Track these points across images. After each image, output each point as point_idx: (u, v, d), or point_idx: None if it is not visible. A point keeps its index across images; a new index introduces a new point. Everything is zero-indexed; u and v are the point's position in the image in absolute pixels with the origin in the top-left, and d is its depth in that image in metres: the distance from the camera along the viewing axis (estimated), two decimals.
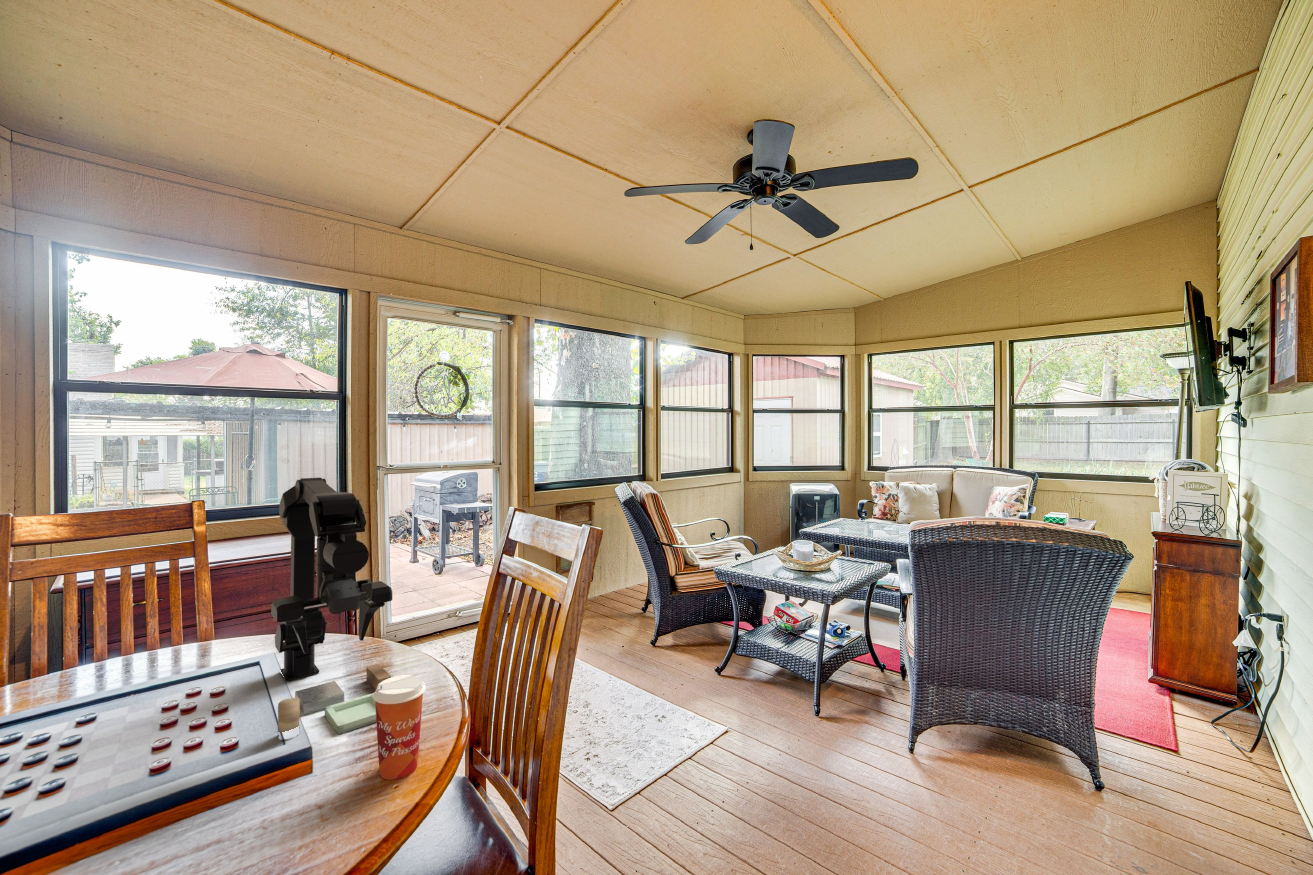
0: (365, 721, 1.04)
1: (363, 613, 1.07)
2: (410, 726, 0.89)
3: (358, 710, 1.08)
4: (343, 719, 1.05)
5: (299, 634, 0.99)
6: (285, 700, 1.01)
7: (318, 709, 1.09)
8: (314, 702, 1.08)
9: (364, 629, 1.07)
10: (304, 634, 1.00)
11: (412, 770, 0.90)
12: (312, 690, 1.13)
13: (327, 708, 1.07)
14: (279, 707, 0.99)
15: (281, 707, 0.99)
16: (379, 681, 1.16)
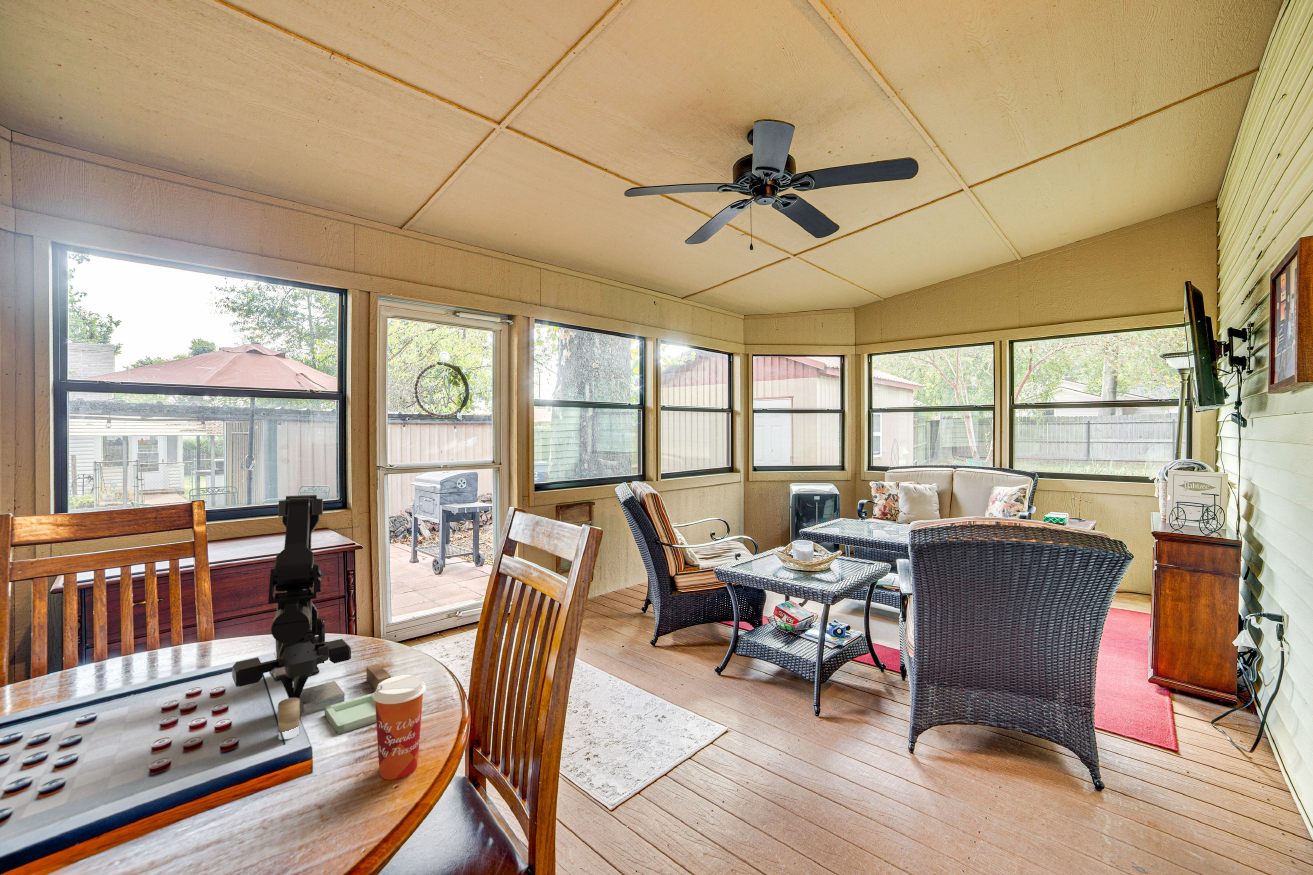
0: (365, 721, 1.04)
1: (297, 678, 1.09)
2: (410, 726, 0.89)
3: (358, 710, 1.08)
4: (343, 719, 1.05)
5: (287, 688, 1.07)
6: (286, 700, 1.01)
7: (318, 709, 1.09)
8: (314, 702, 1.08)
9: (297, 694, 1.09)
10: (291, 688, 1.08)
11: (412, 770, 0.90)
12: (312, 690, 1.13)
13: (327, 708, 1.07)
14: (279, 707, 0.99)
15: (281, 707, 0.99)
16: (379, 681, 1.16)
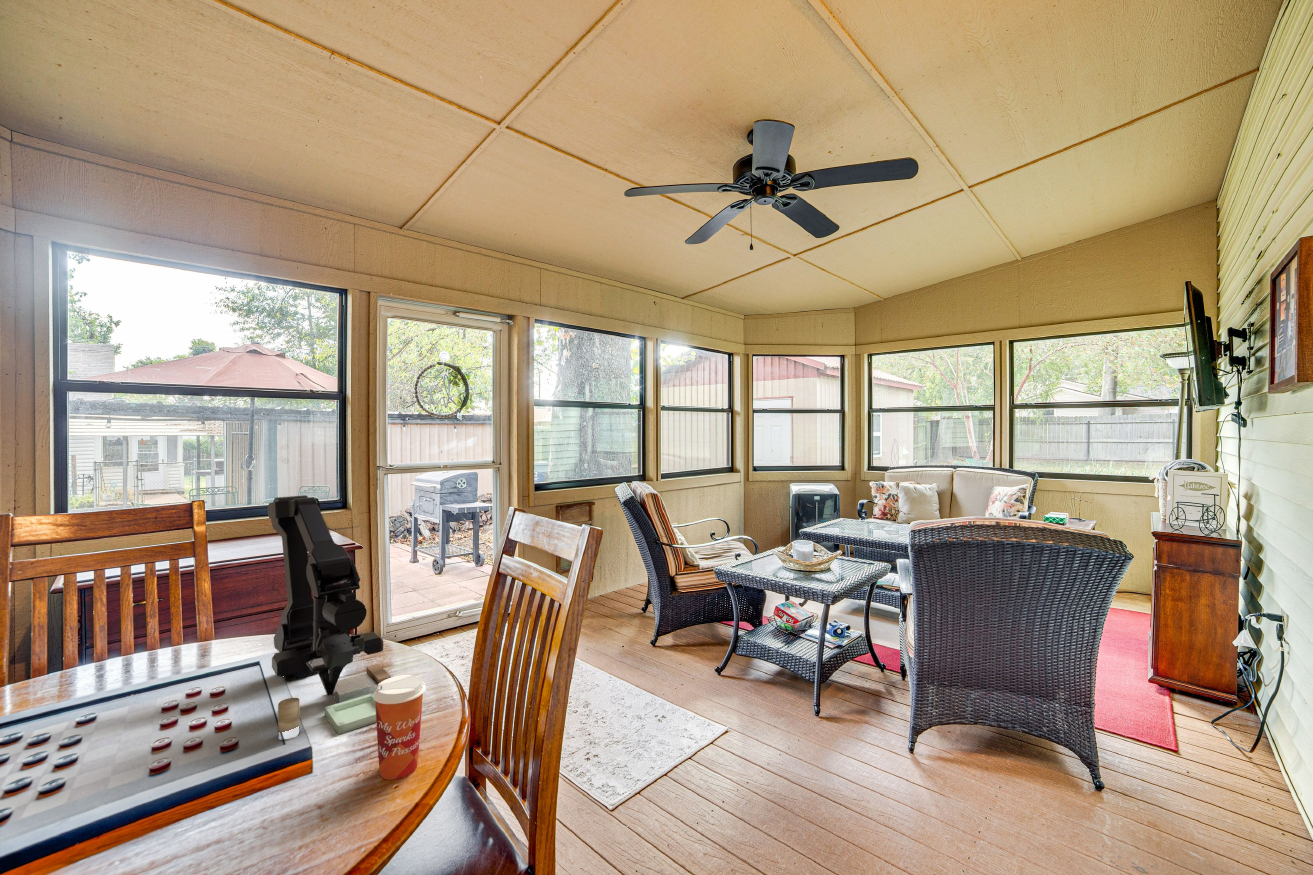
0: (365, 721, 1.04)
1: (332, 669, 1.13)
2: (410, 726, 0.89)
3: (358, 710, 1.08)
4: (343, 719, 1.05)
5: (323, 679, 1.11)
6: (286, 700, 1.01)
7: None
8: (349, 693, 1.12)
9: (333, 684, 1.13)
10: (327, 678, 1.12)
11: (412, 770, 0.90)
12: (347, 682, 1.16)
13: (327, 708, 1.07)
14: (279, 707, 0.99)
15: (281, 707, 0.99)
16: (379, 681, 1.16)
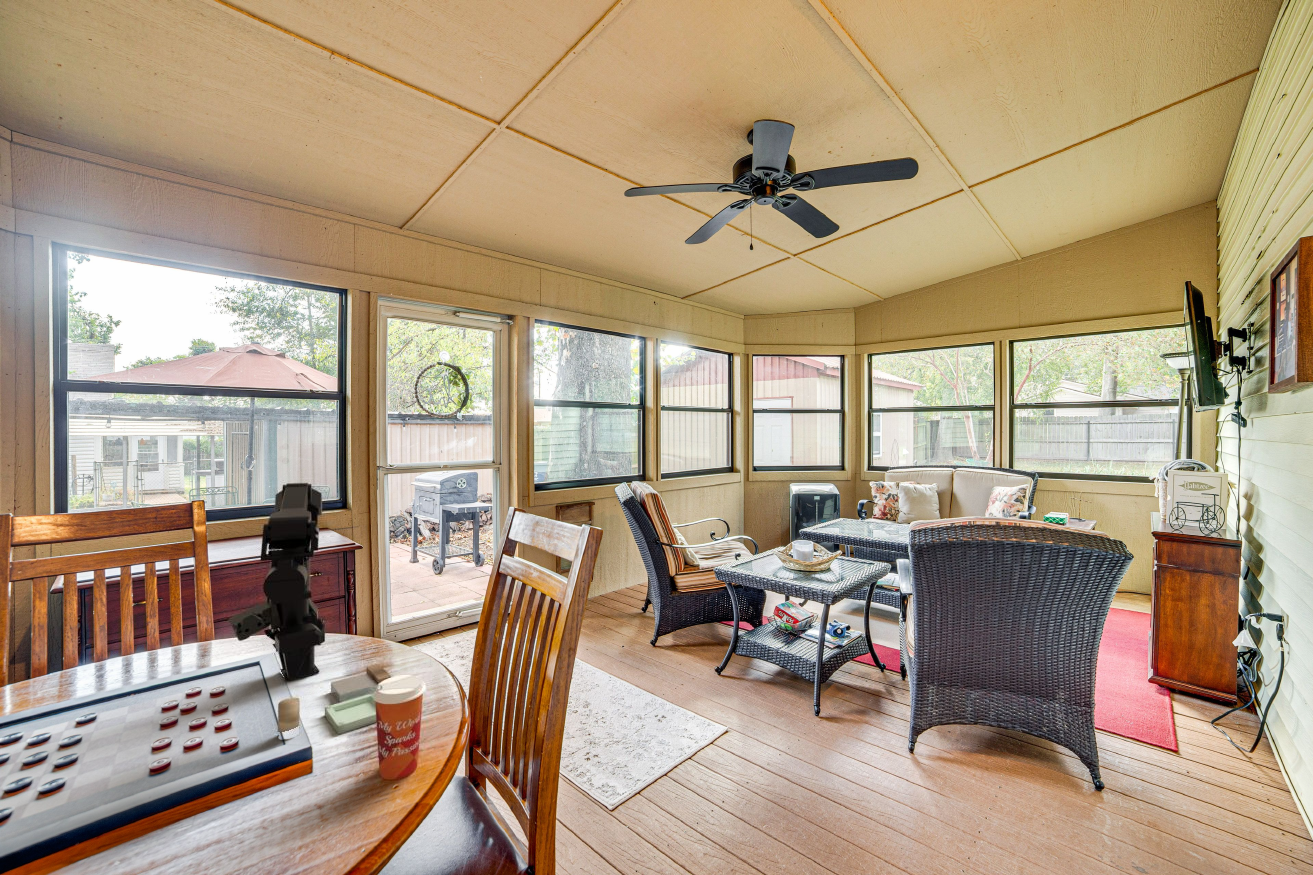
0: (365, 721, 1.04)
1: None
2: (410, 726, 0.89)
3: (358, 710, 1.08)
4: (343, 719, 1.05)
5: None
6: (286, 700, 1.01)
7: None
8: (349, 693, 1.12)
9: (286, 667, 0.98)
10: None
11: (412, 770, 0.90)
12: (347, 681, 1.17)
13: (327, 708, 1.07)
14: (279, 707, 0.99)
15: (281, 707, 0.99)
16: (379, 681, 1.16)
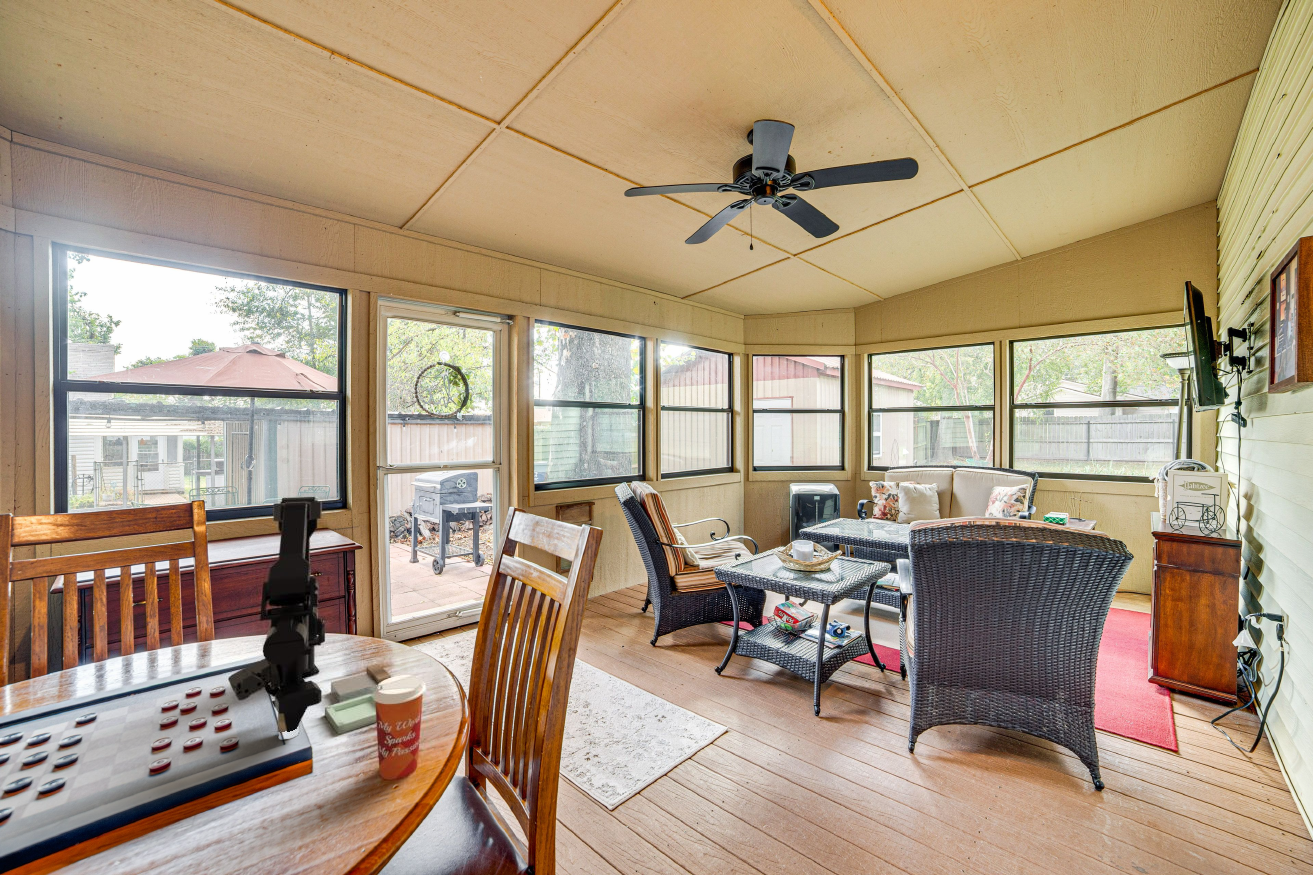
0: (365, 721, 1.04)
1: None
2: (410, 726, 0.89)
3: (358, 710, 1.08)
4: (343, 719, 1.05)
5: None
6: None
7: None
8: (349, 693, 1.12)
9: (285, 723, 0.98)
10: None
11: (412, 770, 0.90)
12: (347, 681, 1.17)
13: (327, 708, 1.07)
14: None
15: None
16: (379, 681, 1.16)
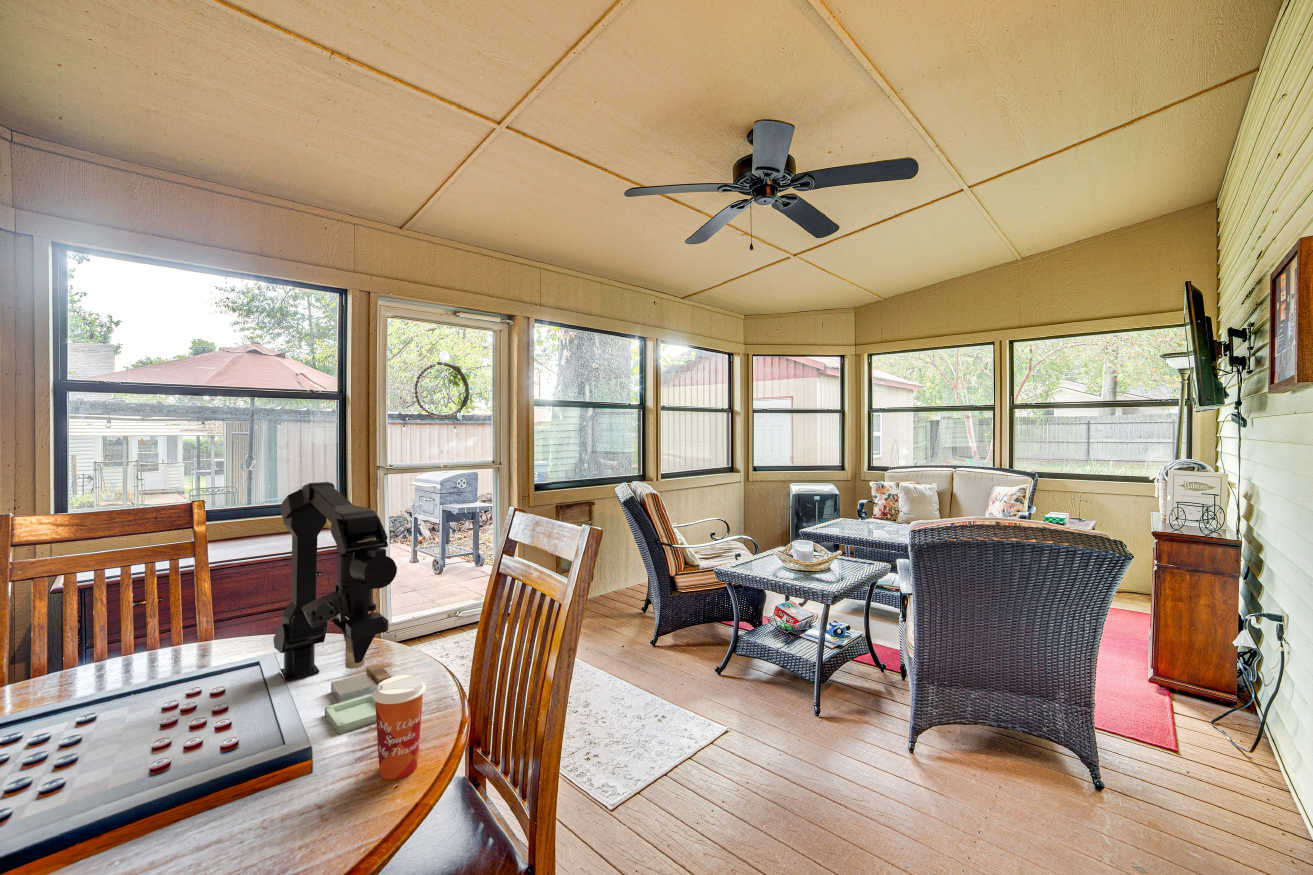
0: (365, 721, 1.04)
1: None
2: (410, 726, 0.89)
3: (358, 710, 1.08)
4: (343, 719, 1.05)
5: None
6: None
7: None
8: (349, 693, 1.12)
9: (353, 652, 1.04)
10: (345, 637, 1.07)
11: (412, 770, 0.90)
12: (347, 681, 1.17)
13: (327, 708, 1.07)
14: (347, 637, 1.05)
15: None
16: (379, 681, 1.16)
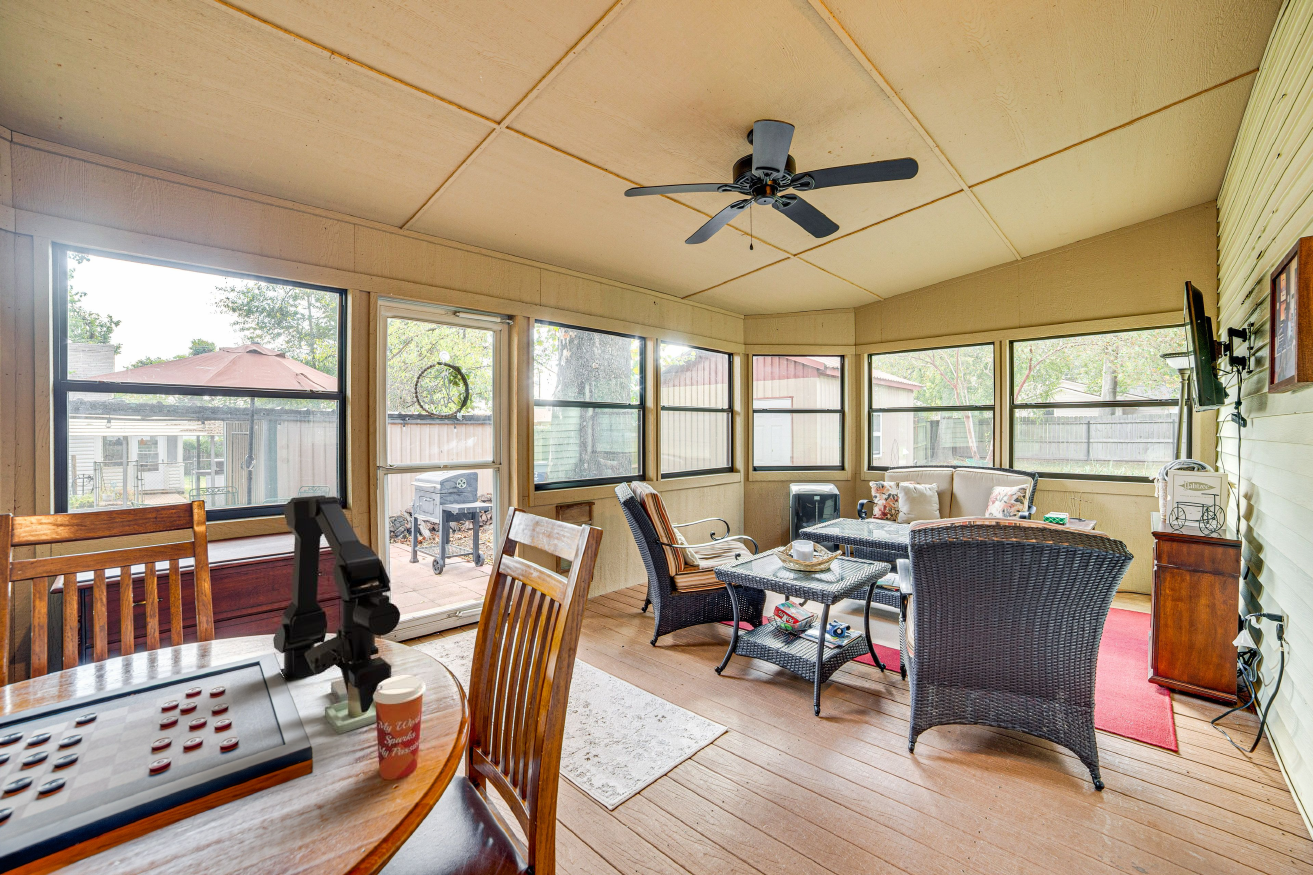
0: (365, 721, 1.04)
1: None
2: (410, 726, 0.89)
3: None
4: (343, 719, 1.05)
5: (342, 674, 1.10)
6: None
7: None
8: None
9: (359, 701, 1.03)
10: (343, 676, 1.10)
11: (412, 770, 0.90)
12: None
13: (327, 708, 1.07)
14: (349, 687, 1.06)
15: (352, 687, 1.06)
16: None
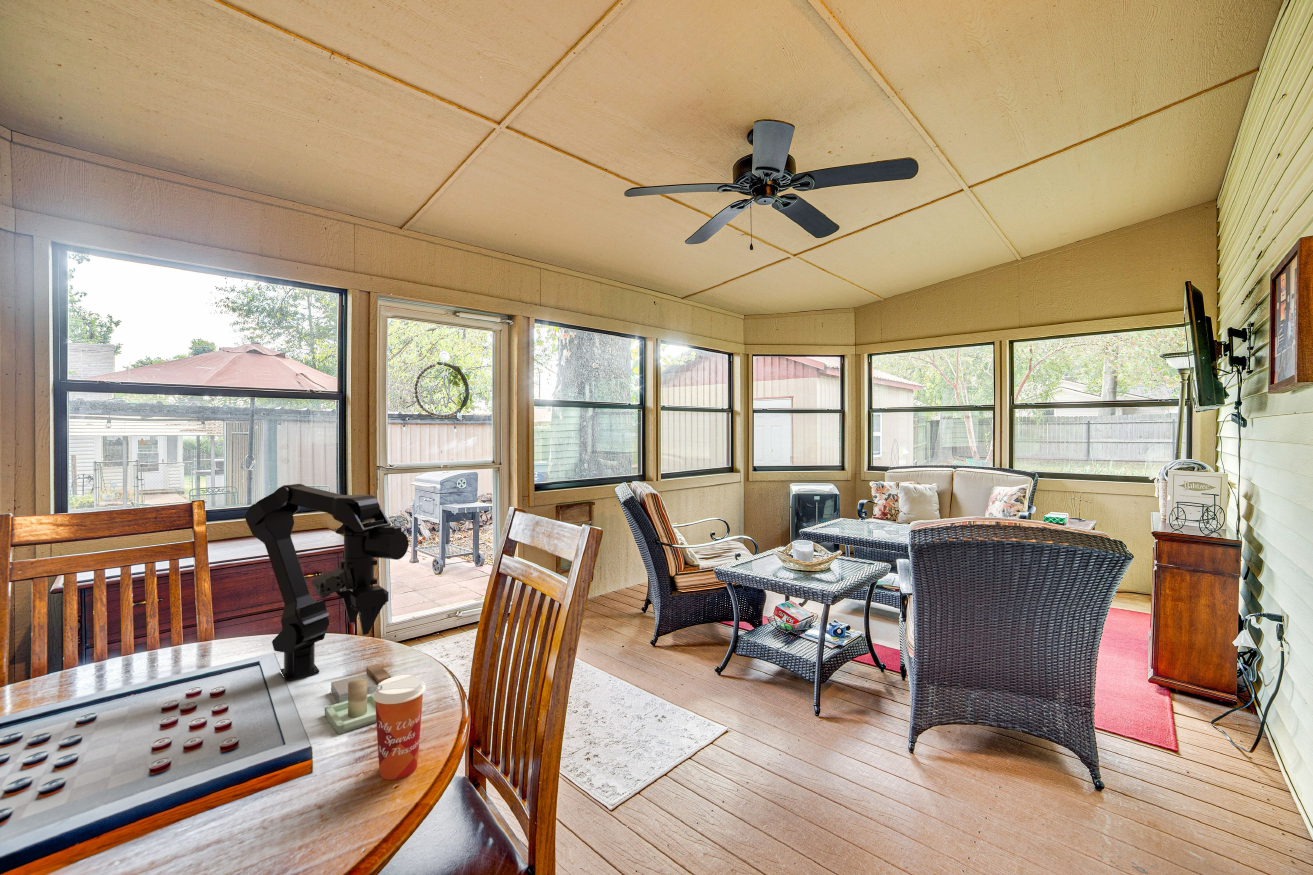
0: (365, 721, 1.04)
1: None
2: (410, 726, 0.89)
3: None
4: (343, 719, 1.05)
5: (344, 604, 1.23)
6: (354, 681, 1.08)
7: None
8: None
9: (361, 625, 1.16)
10: (345, 605, 1.23)
11: (412, 770, 0.90)
12: (347, 681, 1.17)
13: (327, 708, 1.07)
14: (349, 687, 1.06)
15: (352, 687, 1.06)
16: (379, 681, 1.16)
